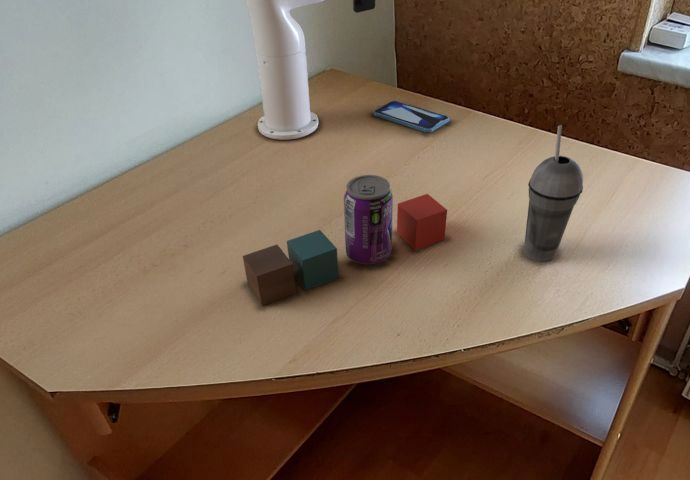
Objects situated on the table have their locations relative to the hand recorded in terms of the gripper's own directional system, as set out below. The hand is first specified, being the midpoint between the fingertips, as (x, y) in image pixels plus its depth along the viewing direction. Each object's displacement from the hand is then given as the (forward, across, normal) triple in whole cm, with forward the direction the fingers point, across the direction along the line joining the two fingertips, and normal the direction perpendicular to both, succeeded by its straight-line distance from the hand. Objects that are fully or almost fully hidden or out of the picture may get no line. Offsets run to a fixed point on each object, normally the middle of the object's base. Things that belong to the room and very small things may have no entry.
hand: (347, 1), depth 89 cm
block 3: (+30, +19, +2) cm, 36 cm away
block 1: (+30, +19, -24) cm, 43 cm away
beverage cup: (+30, +32, +15) cm, 47 cm away
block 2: (+30, +19, -17) cm, 39 cm away
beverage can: (+30, +19, -7) cm, 37 cm away
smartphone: (+30, -17, +23) cm, 42 cm away
